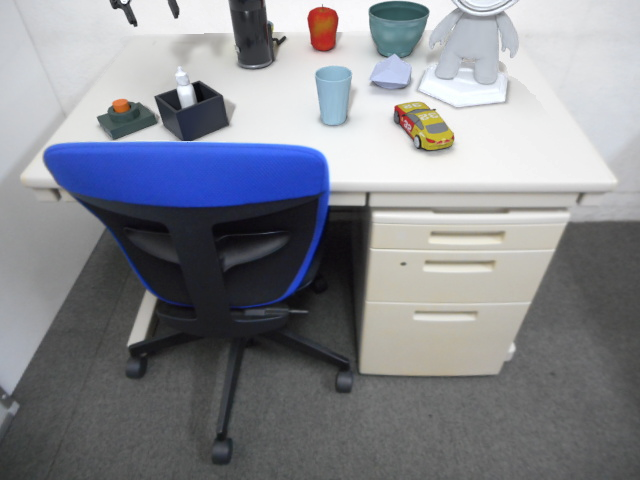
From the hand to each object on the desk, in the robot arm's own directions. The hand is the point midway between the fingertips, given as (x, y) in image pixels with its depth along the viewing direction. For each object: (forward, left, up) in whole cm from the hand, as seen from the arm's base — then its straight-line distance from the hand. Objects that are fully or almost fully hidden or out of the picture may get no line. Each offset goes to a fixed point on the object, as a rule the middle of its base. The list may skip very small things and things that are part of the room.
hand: (156, 20), depth 85 cm
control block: (+13, 0, -19) cm, 23 cm away
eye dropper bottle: (+2, +11, -18) cm, 21 cm away
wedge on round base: (-44, +27, -19) cm, 55 cm away
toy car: (-32, +47, -19) cm, 60 cm away
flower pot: (-60, +14, -19) cm, 64 cm away
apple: (-47, -2, -19) cm, 51 cm away
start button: (+13, 0, -15) cm, 20 cm away
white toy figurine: (-56, +40, -19) cm, 71 cm away
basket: (+2, +11, -19) cm, 22 cm away
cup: (-22, +30, -19) cm, 42 cm away
